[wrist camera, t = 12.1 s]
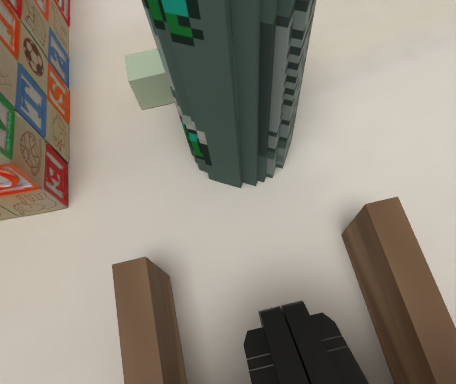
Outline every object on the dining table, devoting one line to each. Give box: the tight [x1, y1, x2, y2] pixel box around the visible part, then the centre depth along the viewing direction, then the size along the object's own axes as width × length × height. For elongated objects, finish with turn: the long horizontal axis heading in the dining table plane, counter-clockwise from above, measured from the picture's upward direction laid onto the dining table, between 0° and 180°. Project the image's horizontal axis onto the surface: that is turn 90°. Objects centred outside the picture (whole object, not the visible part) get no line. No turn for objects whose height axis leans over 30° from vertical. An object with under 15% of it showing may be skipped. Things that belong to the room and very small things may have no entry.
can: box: [142, 0, 316, 188], centre depth 17 cm, size 6×6×15 cm
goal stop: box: [125, 49, 175, 110], centre depth 25 cm, size 10×2×3 cm, turn 103°
